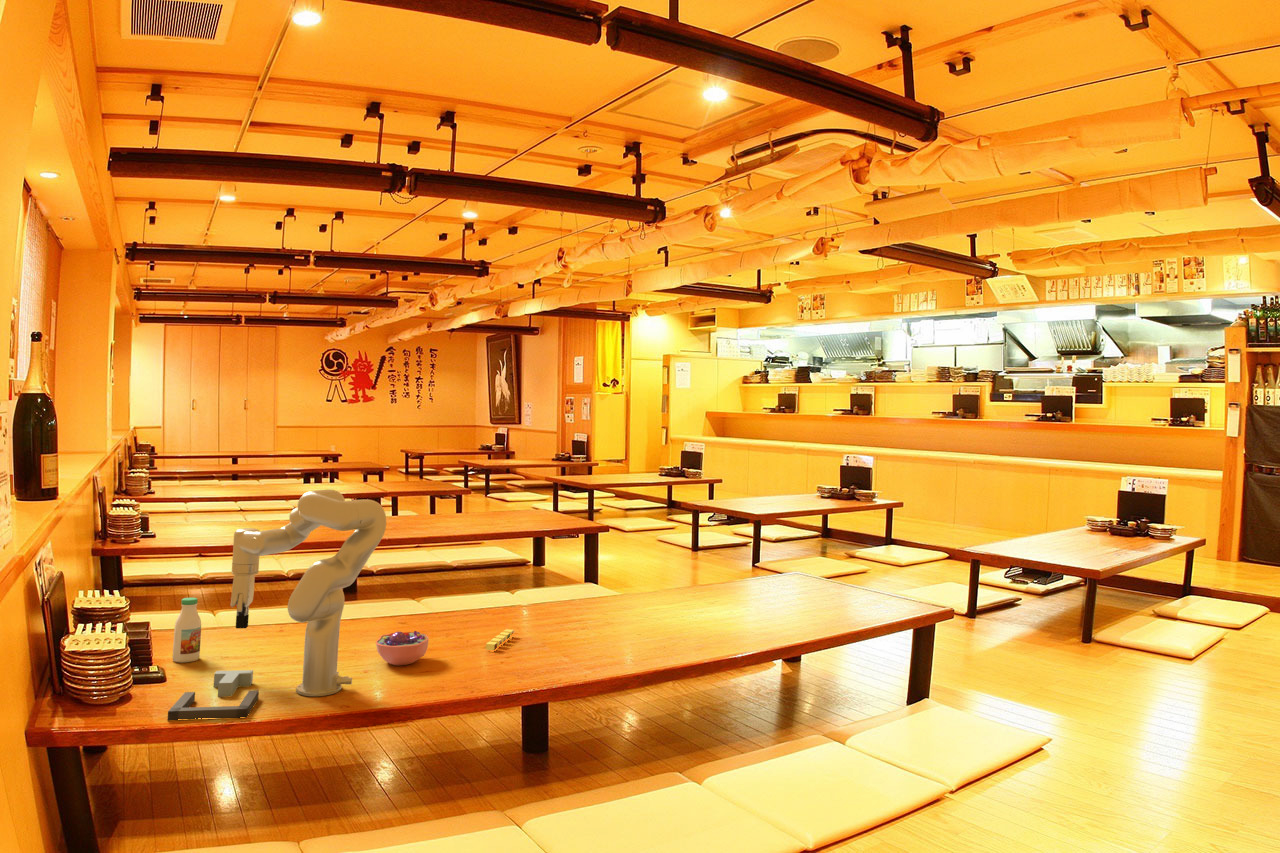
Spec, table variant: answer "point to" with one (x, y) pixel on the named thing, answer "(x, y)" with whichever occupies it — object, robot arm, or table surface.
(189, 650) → the milk bottle
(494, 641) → the yellow segmented bar
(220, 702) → the table surface
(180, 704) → the corral
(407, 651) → the cell model
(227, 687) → the t block
